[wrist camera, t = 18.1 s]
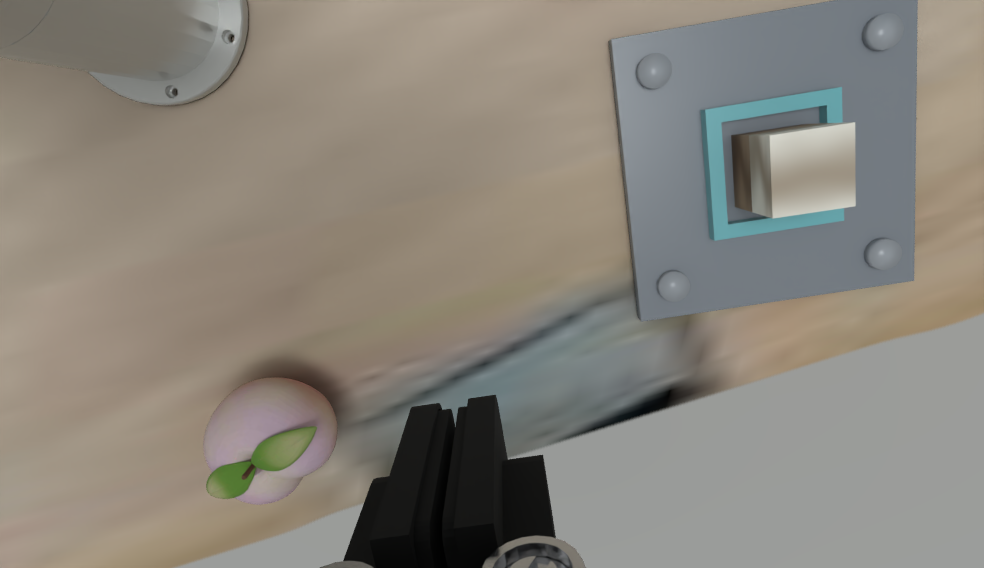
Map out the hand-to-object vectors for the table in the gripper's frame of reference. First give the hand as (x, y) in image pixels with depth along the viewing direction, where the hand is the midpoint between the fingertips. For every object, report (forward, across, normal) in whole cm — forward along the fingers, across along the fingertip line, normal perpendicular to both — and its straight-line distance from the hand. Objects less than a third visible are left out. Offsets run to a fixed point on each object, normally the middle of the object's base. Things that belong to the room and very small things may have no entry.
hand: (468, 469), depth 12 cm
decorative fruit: (+33, +18, +12) cm, 40 cm away
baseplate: (+33, -20, -1) cm, 39 cm away
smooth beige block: (+32, -20, -1) cm, 38 cm away
